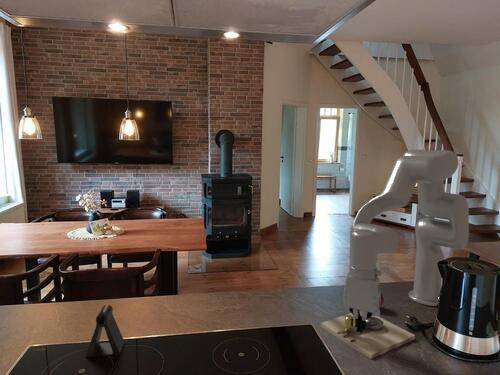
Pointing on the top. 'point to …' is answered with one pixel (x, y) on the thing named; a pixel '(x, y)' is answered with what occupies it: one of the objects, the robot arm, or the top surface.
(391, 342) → the stand board
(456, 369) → the top surface
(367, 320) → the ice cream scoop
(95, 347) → the dark triangular stand
